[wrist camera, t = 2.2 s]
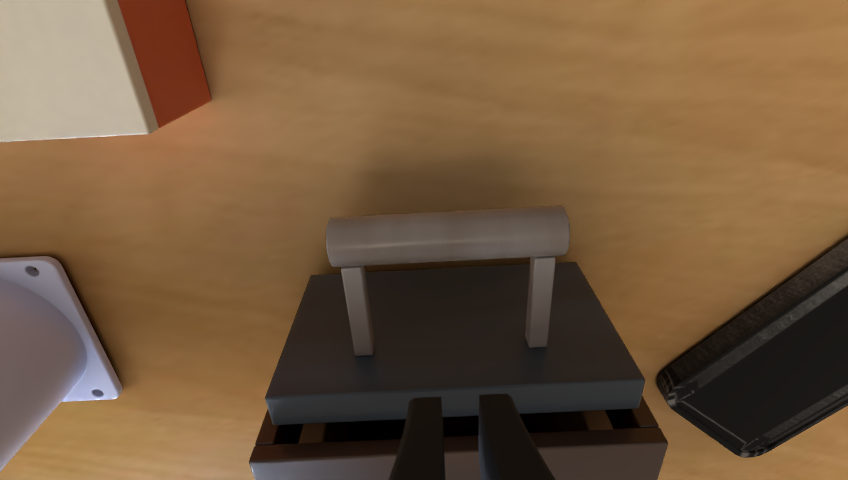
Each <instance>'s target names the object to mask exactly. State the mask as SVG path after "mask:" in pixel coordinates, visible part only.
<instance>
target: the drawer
mask: <svg viewBox="0 0 848 480" xmlns="http://www.w3.org/2000/svg"><path fill="white" fill-rule="evenodd" d="M569 243H570V225H569V219H568V215H567V212H566V210H565V208H564V207H563V206H561V205H558V206H539V207H520V208H501V209H481V210H462V211H443V212H424V213H405V214H385V215H366V216H347V217H331V218H329V220H328V223H327V228H326V247H327V254H328V259H329V262H330V264H331V266H333V267H342V268H341V273H342V274H323V275H311V276H310V279H309V282H308V284H307V287H306V290H305V292H304V295H303V298H302V300H301V303H300V306H299V308H298V311H297V314H296V316H295V319H294V322H293V324H292V327H291V330H290V332H289V335H288V338H287V340H286V343H285V346H284V348H283V351H282V354H281V356H280V359H279V362H278V364H277V367H276V370H275V372H274V375H273V378H272V380H271V383H270V386H269V388H268V391H267V394H266V396H265V400H266V403H267V407H268V410H269V413H270V417H271V420H272V423H273V425H290V424H303V427H302V431H301V435H300V439H299V443H319V442H341V441H363V440H385V439H402V435H403V431H404V427H405V422H406V417H407V412H408V404H409V401H410V400H412V399H413V398H420V397H441V401H442V417H443V435H444V437H451V436H473V435H479V395H484V394H506V393H507V394H508V395H510V396H511V397H512V399H513V402H514V404H515V406H516V408H517V411H518V413H519V415H520V417H521V419H522V421H523V423H524V425H525V427H526V429H527V431H528V433H539V432H561V431H583V430H605V429H613V427H612V425H611V422H610V420H609V418H608V416H607V413H606V411H605V410H615V409H637V408H639V405H640V401H641V397H642V392H643V388H644V384H645V378H644V377H643V375H642V373H641V372H640V370H639V368H638V367H637V365H636V363H635V361H634V360H633V358H632V356H631V355H630V353H629V351H628V349H627V348H626V346H625V344H624V343H623V341H622V339H621V338H620V336H619V334H618V332H617V331H616V329H615V327H614V326H613V324H612V322H611V320H610V319H609V317H608V315H607V314H606V312H605V310H604V309H603V307H602V305H601V303H600V302H599V300H598V298H597V297H596V295H595V293H594V291H593V290H592V288H591V286H590V285H589V283H588V281H587V280H586V278H585V276H584V274H583V273H582V271H581V269H580V268H579V266H578V264H577V263H576V262H561V263H555V260H556V258H555V256H562V255H565V254H566V253H567V251H568V248H569ZM523 257H530V264H522V265H502V266H482V267H462V268H442V269H422V270H403V271H383V272H365V267H364V266H365V265H384V264H404V263H424V262H444V261H464V260H483V259H503V258H523Z"/></svg>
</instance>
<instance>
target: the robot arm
mask: <svg viewBox="0 0 848 480" xmlns="http://www.w3.org/2000/svg"><path fill="white" fill-rule="evenodd" d="M34 267H35V268H36V269H37V270H38V271H37V270H36V269H34ZM122 390H123V388H122V385H121V383H120V381H119V379H118V377H117V375H116V373H115V371H114V369H113V367H112V365H111V363H110V361H109V359H108V357H107V355H106V353H105V351H104V349H103V347H102V345H101V343H100V341H99V339H98V337H97V335H96V333H95V331H94V329H93V327H92V325H91V323H90V321H89V319H88V317H87V315H86V313H85V311H84V309H83V307H82V305H81V303H80V301H79V299H78V297H77V295H76V293H75V291H74V289H73V287H72V285H71V283H70V281H69V279H68V277H67V275H66V273H65V271H64V269H63V267H62V265H61V264H60V263H59V261H57V260H56V259H54V258H52V257H49V256H36V257H17V258H0V471H1V470H2V469H3V468H4V467H5V465H6V464H7V463H8V462H9V461H10V460H11V459H12V457H13V456H14V455H15V454H16V453H17V452H18V450H19V449H20V448H21V447H22V446H23V445H24V444H25V442H26V441H27V440H28V439H29V438H30V437H31V436H32V434H33V433H34V432H35V431H36V430H37V429H38V427H39V426H40V425H41V424H42V423H43V422H44V421H45V419H46V418H47V417H48V416H49V415H50V414H51V412H52V411H53V410H54V409H55V408H56V407H57V406H58V404H59V403H60V402H62V401H84V400H105V399H115V398H117V397H118V396H119V395H120V394H121V392H122ZM479 464H480V474H481V480H556V479H555V478H554V476H553V474H552V473H551V471H550V469H549V468H548V466H547V465H546V463H545V461H544V459H543V458H542V456H541V454H540V453H539V451H538V449H537V447H536V445H535V444H534V442H533V440H532V438H531V436H530V435H529V433H528V431H527V429H526V427H525V425H524V423H523V421H522V419H521V417H520V415H519V413H518V411H517V408H516V406H515V404H514V402H513V399H512V397H511V396H510V395H508V394H507V393H506V394H484V395H479ZM389 480H446V479H445V457H444V435H443V417H442V401H441V397H420V398H413V399H412V400H410V401H409V404H408V412H407V417H406V422H405V427H404V431H403V435H402V439H401V442H400V446H399V449H398V453H397V456H396V459H395V462H394V465H393V468H392V471H391V474H390V477H389Z"/></svg>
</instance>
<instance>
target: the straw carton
mask: <svg viewBox="0 0 848 480" xmlns="http://www.w3.org/2000/svg"><path fill="white" fill-rule="evenodd" d="M209 101H211V97H210V93H209V89H208V86H207V82H206V78H205V74H204V71H203V67H202V63H201V59H200V55H199V52H198V48H197V44H196V40H195V37H194V33H193V29H192V25H191V21H190V18H189V14H188V10H187V6H186V3H185V0H0V142H13V141H31V140H49V139H68V138H86V137H104V136H123V135H141V134H150V133H152V132H153V131H155V130H157V129H158V128H161V127H162V126H164V125H166V124H168V123H170V122H172V121H174V120H176V119H177V118H179V117H181V116H183V115H185V114H187V113H189V112H191V111H193V110H194V109H196V108H198V107H200V106H202V105H204V104H206V103H208V102H209Z"/></svg>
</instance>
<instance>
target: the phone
mask: <svg viewBox="0 0 848 480" xmlns="http://www.w3.org/2000/svg"><path fill="white" fill-rule="evenodd" d="M657 386H658V389H659V391H660V392H661V394H662V396H663V397H664V399H665V401H666V402H667V404H668V405H669V407H670V408H671V409H672V410H674V411H675V412H676V413H678V414H679V415H681V416H682V417H683V418H685V419H686V420H688V421H689V422H691V423H692V424H693V425H695V426H696V427H698V428H699V429H700V430H702V431H703V432H705V433H706V434H707V435H709V436H710V437H712V438H713V439H714V440H716V441H717V442H719V443H720V444H721V445H723V446H724V447H726V448H727V449H728V450H730V451H731V452H733V453H734V454H736V455H738V456H740V457H746V458H748V457H756V456H760V455H762V454H764V453H767V452H769V451H770V450H772V449H774V448H775V447H777V446H779V445H781V444H782V443H784V442H786V441H788V440H789V439H791V438H793V437H794V436H796V435H798V434H800V433H801V432H803V431H805V430H806V429H808V428H810V427H812V426H813V425H815V424H817V423H819V422H820V421H822V420H824V419H825V418H827V417H829V416H831V415H832V414H834V413H836V412H837V411H839V410H841V409H843V408H844V407H846V406H848V239H846V240H845V241H843V242H842V243H841V244H839V245H838V246H836V247H835V248H834V249H832V250H831V251H829V252H828V253H827V254H825V255H824V256H822V257H821V258H820V259H818V260H817V261H816V262H814V263H813V264H811V265H810V266H809V267H807V268H806V269H804V270H803V271H802V272H800V273H799V274H797V275H796V276H795V277H793V278H792V279H790V280H789V281H788V282H786V283H785V284H783V285H782V286H781V287H779V288H778V289H776V290H775V291H774V292H772V293H771V294H769V295H768V296H767V297H765V298H764V299H762V300H761V301H760V302H758V303H757V304H755V305H754V306H753V307H751V308H750V309H748V310H747V311H746V312H744V313H743V314H741V315H740V316H739V317H737V318H736V319H735V320H733V321H732V322H730V323H729V324H728V325H726V326H725V327H723V328H722V329H721V330H719V331H718V332H716V333H715V334H714V335H712V336H711V337H709V338H708V339H707V340H705V341H704V342H702V343H701V344H700V345H698V346H697V347H695V348H694V349H693V350H691V351H690V352H688V353H687V354H686V355H684V356H683V357H681V358H680V359H679V360H677V361H676V362H674V363H673V364H672V365H670V366H669V367H667V368H666V369H665V370H664V371H663V372H662V373H661V374H660V376H659V377H658V381H657Z"/></svg>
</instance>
